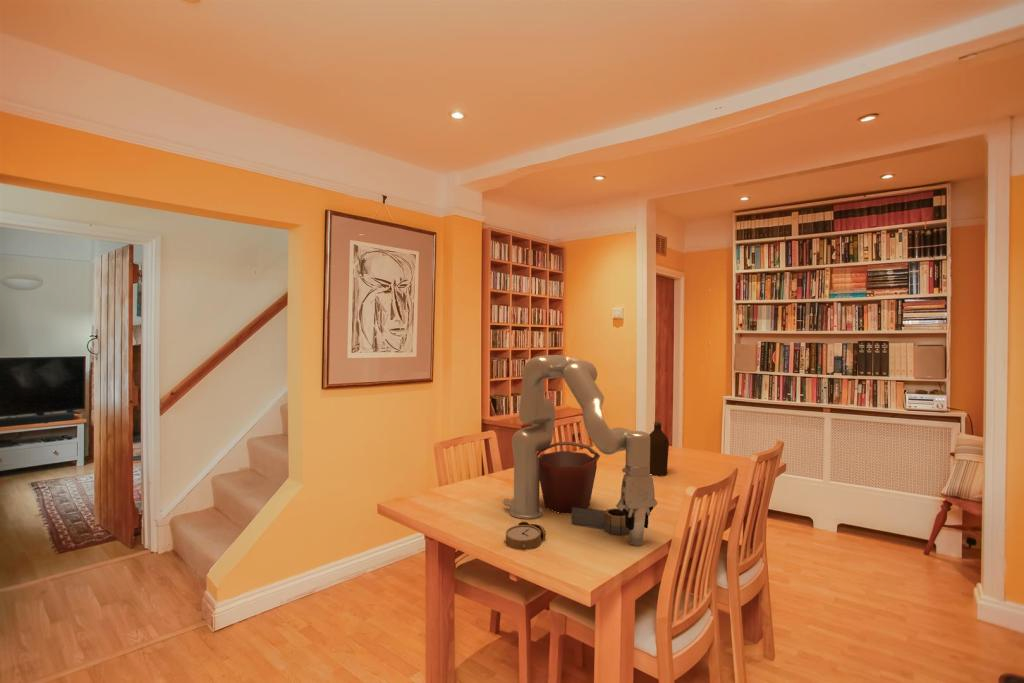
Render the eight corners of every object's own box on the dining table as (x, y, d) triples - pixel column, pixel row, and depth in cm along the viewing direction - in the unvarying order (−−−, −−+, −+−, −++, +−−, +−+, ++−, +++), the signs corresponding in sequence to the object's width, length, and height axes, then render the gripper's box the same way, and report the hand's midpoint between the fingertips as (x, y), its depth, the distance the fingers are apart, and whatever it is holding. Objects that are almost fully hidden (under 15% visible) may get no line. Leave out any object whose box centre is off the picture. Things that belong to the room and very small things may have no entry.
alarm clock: (498, 536, 158) (522, 514, 171) (499, 550, 159) (523, 527, 172) (529, 544, 152) (552, 520, 165) (530, 559, 153) (553, 534, 166)
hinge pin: (627, 543, 159) (632, 499, 160) (629, 539, 164) (633, 496, 164) (641, 546, 158) (646, 502, 158) (643, 542, 162) (647, 498, 162)
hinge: (568, 528, 173) (569, 510, 173) (581, 509, 192) (581, 493, 192) (628, 536, 166) (628, 518, 166) (635, 516, 185) (635, 500, 185)
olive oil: (670, 472, 247) (671, 421, 247) (666, 477, 238) (666, 424, 238) (648, 469, 252) (649, 419, 252) (643, 474, 243) (644, 422, 243)
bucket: (604, 500, 200) (604, 438, 199) (591, 522, 180) (590, 453, 179) (545, 493, 210) (545, 433, 208) (526, 513, 189) (525, 447, 188)
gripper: (620, 475, 155) (619, 535, 155) (667, 471, 160) (666, 529, 160) (608, 469, 162) (607, 526, 162) (653, 466, 167) (652, 520, 168)
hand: (636, 527), depth 161 cm, fingers closed on hinge pin, 4 cm apart
